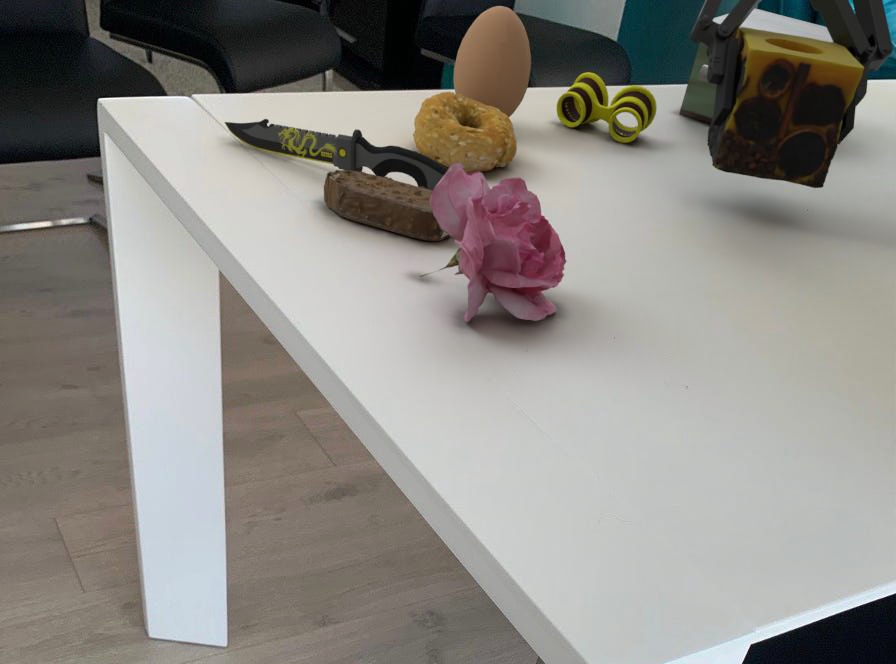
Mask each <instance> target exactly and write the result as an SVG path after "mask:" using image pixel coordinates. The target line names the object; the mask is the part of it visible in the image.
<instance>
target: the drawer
mask: <svg viewBox="0 0 896 664" xmlns="http://www.w3.org/2000/svg"><path fill="white" fill-rule="evenodd" d="M733 38H734V37H733ZM698 46H699V49H698V48H697V50H698V52H697V51H696V53H697V56H696V55H695V57H696V59H695V58H694V60H695V63H694V62H693V64H694V66H693V65H692V67H693V70H692V69H691V71H692V73H691V72H690V74H691V77H690V76H689V78H690V80H689V79H688V81H689V84H688V83H687V85H688V87H687V86H686V88H687V91H686V90H685V92H686V94H685V93H684V95H685V98H684V97H683V99H684V101H683V100H682V102H683V105H682V104H681V106H682V109H683V110H687V111H690V112H693V113H697V114H700V115H703V116H706V117H710V118H713V115H714V105H715V96H716V87H717V84H711V83H708V80H707V72H708V62H709V57H708V56H707V55H706V49H707V47H708V46H707V45H706V44H704V43H702V42H700V45H699V44H698Z"/></svg>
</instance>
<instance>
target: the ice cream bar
mask: <svg viewBox="0 0 896 664" xmlns="http://www.w3.org/2000/svg"><path fill="white" fill-rule="evenodd" d="M432 192H433V191H432V190H428V189H426V188H425V187H424V186H422V187H418V185H413V184H410V183H406V182H404V181H403V182H402V181H400V180H399V181H398V180H394V178H392V177H388V176H385V177H380V176H376V175H375V174H372V173H368V172H365V171H362V172H357V171H349V170H342V169H336V170H335V171H328V172H327V173H326V177H325V181H324V186H323V202H324V203H325V205H326V206H327V208H328V209H331V211H334V212H335V213H336V214H337V216H339V217H342V218H345V219H348V220H351V221H354V222H357V223H361V224H364V225H368V226H371V227H374V228H378V229H382V230H386V231H388V232H393V233H395V234H399V235H403V236H406V237H410V238H414V239H417V240H423V241H430V242H442V241H443V240H446V239H447V238H450V237H451V236H450V235H449V234H447V233H446V232H444V231H443V230H441V229H440V226H439V224H438V222H437V220H436V218H435V216H434V215H433V211H432V208H431V205H430V203H429V201H430V198H431V195H432Z"/></svg>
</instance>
